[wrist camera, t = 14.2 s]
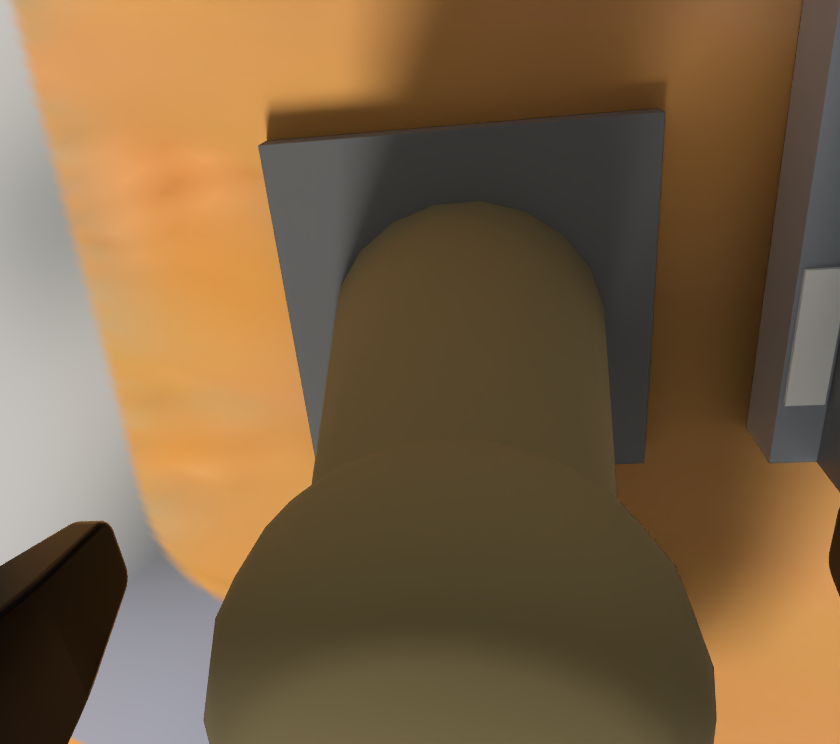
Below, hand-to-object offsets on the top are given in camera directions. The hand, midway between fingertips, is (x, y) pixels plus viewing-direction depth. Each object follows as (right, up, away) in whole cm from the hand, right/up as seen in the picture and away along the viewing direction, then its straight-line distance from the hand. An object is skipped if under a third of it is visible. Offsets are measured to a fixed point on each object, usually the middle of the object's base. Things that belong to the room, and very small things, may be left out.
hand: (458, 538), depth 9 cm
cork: (+1, +3, +7) cm, 8 cm away
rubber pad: (+1, +3, +7) cm, 8 cm away
